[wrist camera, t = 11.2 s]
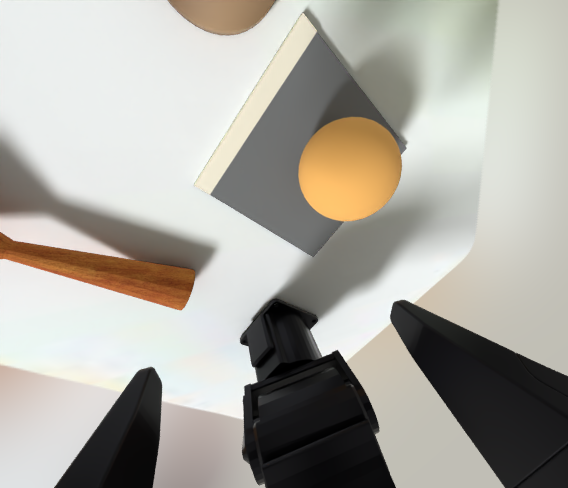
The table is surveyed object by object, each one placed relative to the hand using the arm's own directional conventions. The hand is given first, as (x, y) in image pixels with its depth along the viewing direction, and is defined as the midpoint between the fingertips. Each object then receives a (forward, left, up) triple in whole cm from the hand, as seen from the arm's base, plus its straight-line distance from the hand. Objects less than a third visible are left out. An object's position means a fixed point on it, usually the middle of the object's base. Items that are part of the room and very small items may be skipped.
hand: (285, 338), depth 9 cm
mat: (-2, -6, -12) cm, 14 cm away
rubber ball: (-3, -7, -9) cm, 11 cm away
